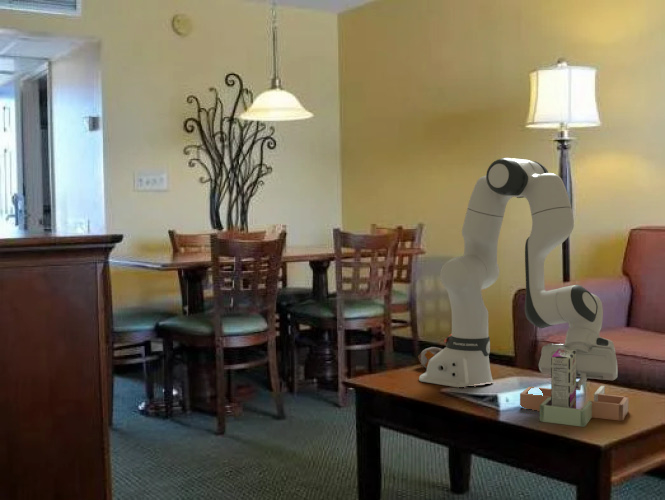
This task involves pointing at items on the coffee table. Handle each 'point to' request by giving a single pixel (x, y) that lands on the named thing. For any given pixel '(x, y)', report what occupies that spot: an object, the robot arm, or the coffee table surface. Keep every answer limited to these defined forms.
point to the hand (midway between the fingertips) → (574, 388)
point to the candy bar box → (563, 378)
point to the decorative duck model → (428, 355)
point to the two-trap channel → (598, 408)
